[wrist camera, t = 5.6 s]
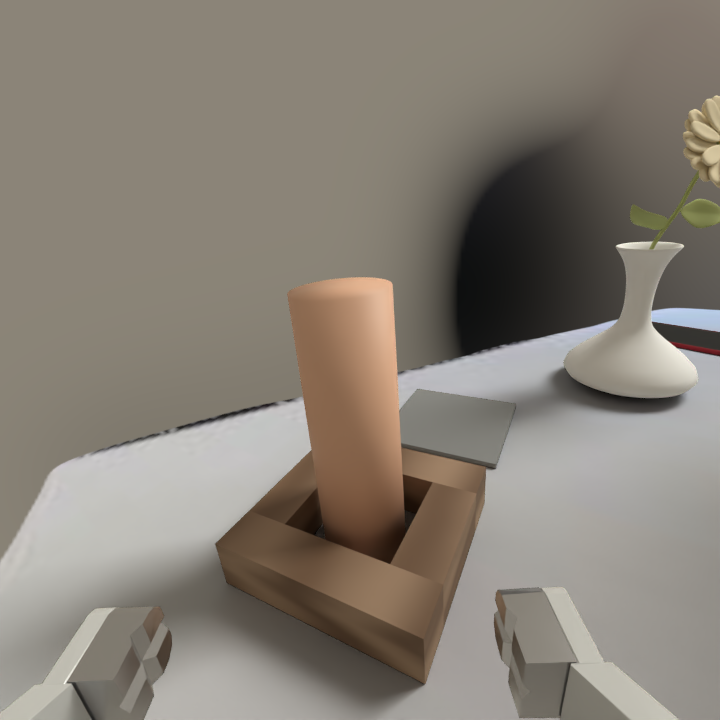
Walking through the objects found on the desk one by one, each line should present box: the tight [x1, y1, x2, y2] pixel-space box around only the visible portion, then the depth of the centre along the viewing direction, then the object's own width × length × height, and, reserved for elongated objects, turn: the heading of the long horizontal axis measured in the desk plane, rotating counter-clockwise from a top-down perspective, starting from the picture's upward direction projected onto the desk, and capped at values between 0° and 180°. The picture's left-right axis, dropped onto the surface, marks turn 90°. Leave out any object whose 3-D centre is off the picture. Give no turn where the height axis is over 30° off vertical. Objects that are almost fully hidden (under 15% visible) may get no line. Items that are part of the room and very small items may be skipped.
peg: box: [287, 277, 406, 564], centre depth 22 cm, size 5×5×16 cm
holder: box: [216, 448, 486, 684], centre depth 24 cm, size 12×12×3 cm
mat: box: [399, 389, 516, 468], centre depth 36 cm, size 10×10×1 cm
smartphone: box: [652, 322, 720, 356], centre depth 49 cm, size 7×1×15 cm
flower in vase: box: [563, 96, 720, 398], centre depth 36 cm, size 13×11×25 cm
